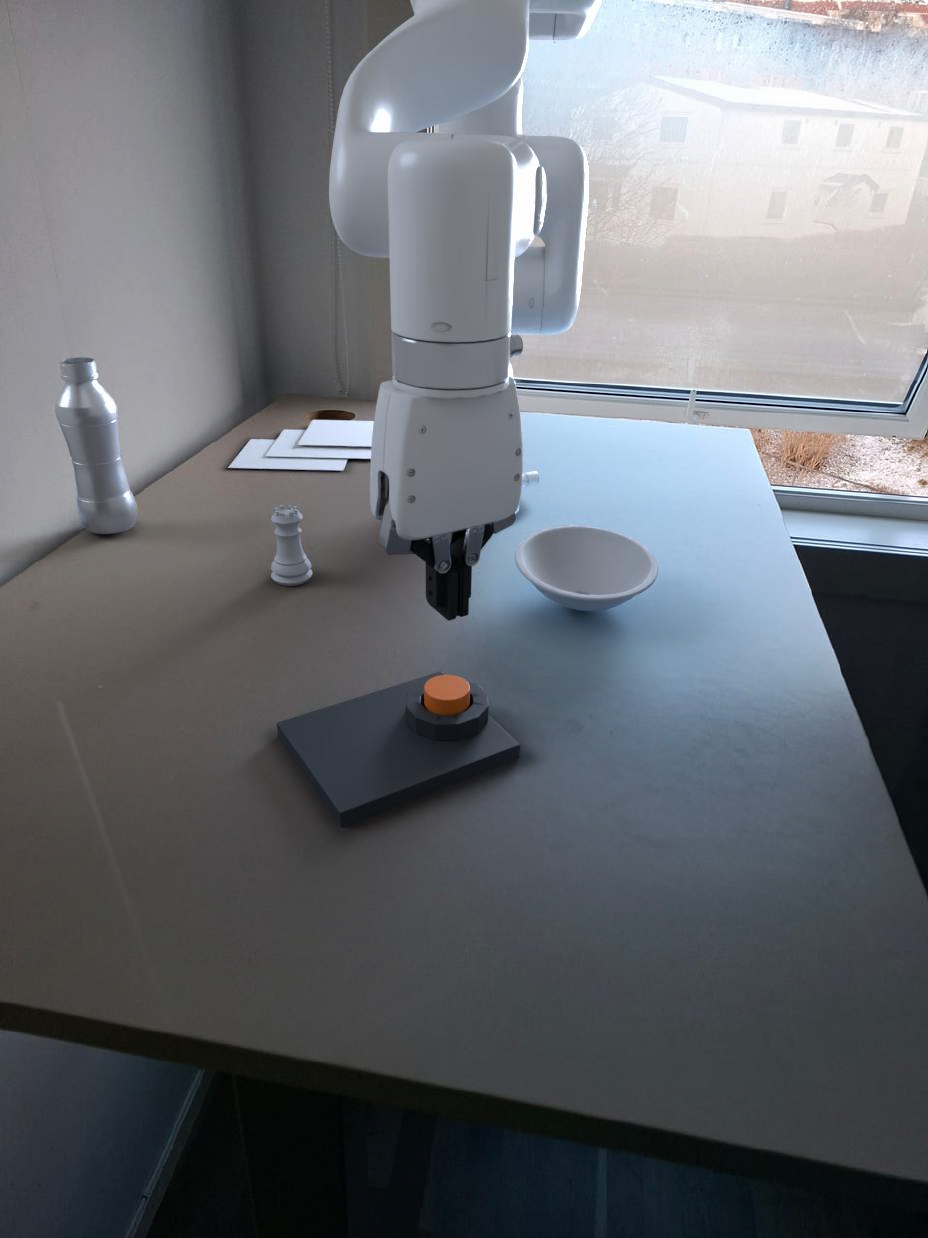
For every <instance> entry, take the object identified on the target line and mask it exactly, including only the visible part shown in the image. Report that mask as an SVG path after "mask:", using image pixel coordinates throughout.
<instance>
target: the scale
mask: <svg viewBox="0 0 928 1238" xmlns="http://www.w3.org/2000/svg"><path fill="white" fill-rule="evenodd" d="M440 675H446V674H445V673H444V672H443V671H437V672H433V673H431V674H428V675H424V676H421V677H418V678H414V679H412V680H409V681H405V682H402V683H398V684H396V685H393V686H388V687H386V688H383V689H380V690H377V691H374V692H373V691H372V692H369V693H367V694H363V695H361V696H357V697H354V698H351V699H347V700H345V701H342V702H338V703H335V704H332V705H329V706H326V707H322V708H319V709H316V710H313V711H309V712H306V713H303V714H300V715H297V716H293V717H290V718H287V719H285V720H281V721H277V722H276V729H277V737H278V738H279V740H280V741H281V742H282V745H283V746H284V747H285V749H287V751H288V753H289V755H290V756H291V757H292V759H293V760H294V762H295V763H296V765H297V766H298V768H299V769H300V771H302V773H303V775H304V776H305V778H306V779H307V781H308V782H309V783H310V785H311V786H312V787H313V790H314V791H315V792H316V794H317V796H318V797H319V798H320V799H321V801H322V802H323V804H324V805H325V807H326V808H327V809H328V811H329V813H330V814H331V816H332V817H333V818H334V820H335V821H336V823H337V824H338V825H339V827H340V828H344V827H347V826H349V825H351V824H354V823H357V822H359V821H362V820H365V819H367V818H369V817H372V816H375V815H377V814H379V813H382V812H385V811H388V810H390V809H394V808H396V807H398V806H400V805H403V804H405V803H408V802H410V801H413V800H417V799H419V798H421V797H423V796H426V795H429V794H431V793H433V792H434V793H435V792H436V791H439V790H441V789H444V788H446V787H449V786H451V785H452V786H453V785H454V784H457V783H459V782H462V781H464V780H467V779H470V778H472V777H475V776H477V775H480V774H482V773H484V772H487V771H490V770H493V769H495V768H498V767H501V766H503V765H505V764H508V763H512V762H513V761H516V760H518V759H520V754H521V744H520V743H519V742H518V741H517V740H516V739H515V738H514V737H513V736H512V735H511V734H510V733H509V732H507V730H506V729H504V728H503V727H502V726H501V725H500V724H499V723H498V722H497V721H495V720H494V719H493V718H492V717H491V716H490V715H489V709H490V708H489V697H488V695H489V694H488V692H487V691H485V690H484V689H483V688H482V687H481V686H480V685H478V683H476V682H474V681H470V680H466V679H465V680H466V681H467V682H468V684H469V686H470V705H469V707H468V709H467V710H466V711H465V712H462V713H459V714H456V715H438V714H435V713H432V712H430V711H428V710H427V709H426V707H425V705H424V686H425V684H426V682H427V681H428V680H429V679H431V678H433V677H436V676H440Z"/></svg>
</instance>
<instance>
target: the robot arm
mask: <svg viewBox="0 0 928 1238" xmlns="http://www.w3.org/2000/svg"><path fill="white" fill-rule="evenodd" d="M602 1H603V0H409V2H410V5H411V8H412V12H413V16H412V17H410V18H408V19H407V20H406V21H404V22H403V23H401V24H400V25H399V26H398V27H396V28H395V29H394V30H393V31H391V32H390V33H389V34H388V35H386V36H385V38H384V39H382V40H381V41H380V42H379V43H378V44H377V45H376V46H375V47H374V48H373V49H372V50H370V51H369V52H368V53H366V55H365V56H364V57H363V58H362V60H360V62H359V63H357V64H356V67H355V68H354V69H353V71H352V72H351V73H350V75H349V77H348V79H347V81H346V83H345V85H344V87H343V90H342V94H341V97H340V100H339V105H338V109H337V115H336V121H335V128H334V134H333V135H334V136H333V140H332V149H331V156H330V165H329V175H328V176H329V179H328V180H329V181H328V202H329V209H330V210H329V211H330V216H331V220H332V224H333V226H334V229H335V232H336V233H337V235H338V237H339V239H340V241H341V242H342V243H343V244H344V245H345V246H346V247H347V248H348V249H349V250H350V251H352V252H354V253H356V254H358V255H361V256H364V257H367V258H379V259H389V296H390V297H389V298H390V299H389V300H390V330H391V331H390V334H391V335H390V336H391V337H390V338H391V339H390V341H391V375H392V379H390V380H385V381H382V382H381V383H380V385H379V390H378V395H377V399H376V404H375V411H374V419H373V421H374V424H373V434H372V446H371V459H370V465H369V466H370V467H369V468H370V469H369V505H370V512H371V515H372V517H373V518H374V519H376V520H378V521H380V522H381V523H380V529H379V534H378V540H377V546H378V547H379V548H380V549H381V550H382V551H384V552H385V553H386V554H387V555H388V556H389V555H390V556H410V555H415V556H417V557H418V558H419V559H420V560H422V561H423V562H424V563H425V599H426V602H427V604H428V605H429V606H430V607H431V608H433V609H434V610H435V611H436V612H437V613H438V614H440V615H441V616H442V617H443V618H444V619H445V620H446V621H448V622H449V621H453V620H455V619H457V617H460V618H463V617H466V616H469V610H470V609H469V608H470V607H469V606H470V598H471V596H472V576H473V573H472V572H473V567H474V566H476V565H478V563H479V562H480V557H481V552H482V550H483V548H485V546H486V544H487V543H488V542H489V541H490V539H491V538H492V536H493V535H496V534H498V533H500V532H502V531H504V530H506V529H508V528H509V527H511V526H513V525H514V524H515V523H516V520H517V519H516V515H517V513H518V512H519V511H520V504H521V503H520V502H521V500H522V499H521V497H522V489H523V488H529V487H534V486H538V485H539V483H540V475H539V473H538V472H537V471H536V470H532V471H527V472H523V471H524V469H523V468H524V467H523V465H524V463H523V462H524V459H523V458H524V457H523V456H524V455H523V454H524V452H523V451H524V450H523V449H524V448H523V428H522V417H521V416H522V415H521V408H520V401H519V395H518V389H517V385H516V380H515V379H514V372H513V371H514V370H513V367H512V363H511V358H513V357H516V356H520V355H521V354H522V353H523V350H524V341H523V338H522V336H521V335H537V336H538V335H539V336H550V335H553V336H554V335H559V334H564V333H566V332H567V331H569V330H570V328H571V327H572V326H573V324H574V323H575V320H576V317H577V314H578V311H579V304H580V298H581V297H580V296H581V288H582V277H583V265H584V263H583V262H584V254H585V253H584V252H585V241H586V239H585V238H586V230H587V229H586V228H587V219H588V218H587V217H588V206H589V186H590V185H589V165H588V160H587V156H586V153H585V151H584V149H583V148H582V146H581V145H580V144H579V143H578V142H577V141H576V140H574V139H572V138H568V137H564V136H557V135H527V134H524V133H523V130H522V112H523V111H522V110H523V109H522V108H523V94H524V83H523V77H522V73H523V70H524V68H525V66H526V63H527V59H528V52H529V43H530V42H529V40H531V41H570V40H576V39H579V38H582V37H583V36H584V35H585V34H586V33H587V31H588V30H589V29H590V28H591V25H592V24H593V21H594V19H595V16H596V14H597V12H598V10H599V9H600V6H601V4H602ZM434 126H438V132H420V131H423V130H426V129H428V128H431V127H434ZM535 237H538V238H539V239H540V240H541V241H542V242H543V244H544V246H542V245H541V246H537V245H536V246H534V245H531V244H532V242H533V240H534V239H535Z"/></svg>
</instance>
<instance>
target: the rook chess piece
mask: <svg viewBox="0 0 928 1238" xmlns="http://www.w3.org/2000/svg"><path fill="white" fill-rule="evenodd" d="M286 507H287V508H285V507H284V504H281V505H278V507H274V508H273V514H272V516H271V517H270V520H271V522H272V523H273V524H274V525H275V526H276V527H275V530H274V534H275V535H276V552H275V555H274V556H273V559H274V560H273V561H272V562H271V565H270V570H271V571H272V572H271V574H270V576H271V577H270V578H271V579H272V580H273V581H274V582H275V583H276V584H278V585H281V586H284V587H285V586H286V587H295V586H300V585H304V584H305V583H307V582H308V581H309V580H310V579H311V577H312V576H313V570H312V569H311V568H312V563H311V560H310V559H309V558H308V557H307V553H305V552H304V549H303V544H302V540H301V533H302V528H301V527H300V523H301V521H302V520H303V518H304V517H303V514H302V513H300V511H299V507H298V506H297V505H294V506H293V504H287V505H286Z"/></svg>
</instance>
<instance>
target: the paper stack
mask: <svg viewBox="0 0 928 1238" xmlns="http://www.w3.org/2000/svg"><path fill="white" fill-rule="evenodd" d="M373 424H374V420H344V419H343V420H342V419H312V420H311V422H310V423H309V425H308V426H307V428H306V429H282V431H281V432H280V434H279V435H278V437H277V438H276V439H267V438H265V439H263V438H260V439H259V438H250V439H249V441H248V442H247V443H246V444H245V446H244V447H243V448H242V449H241V451H240V452H239V453H238V455H237V456H236V457H235V458H234V459H233V460H232V462H231V463H230V464H229V466H228V467H227V468H228V469H255V470H256V469H259V470H263V469H264V470H267V469H268V470H299V471H300V470H305V471H341V472H342V471H344V470H345V467H346V465H347V464H348V463H347V462H348V460H349V459H357V460H358V459H359V460H362V459H363V460H364V459H365V460H371V446H372V434H373Z"/></svg>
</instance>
